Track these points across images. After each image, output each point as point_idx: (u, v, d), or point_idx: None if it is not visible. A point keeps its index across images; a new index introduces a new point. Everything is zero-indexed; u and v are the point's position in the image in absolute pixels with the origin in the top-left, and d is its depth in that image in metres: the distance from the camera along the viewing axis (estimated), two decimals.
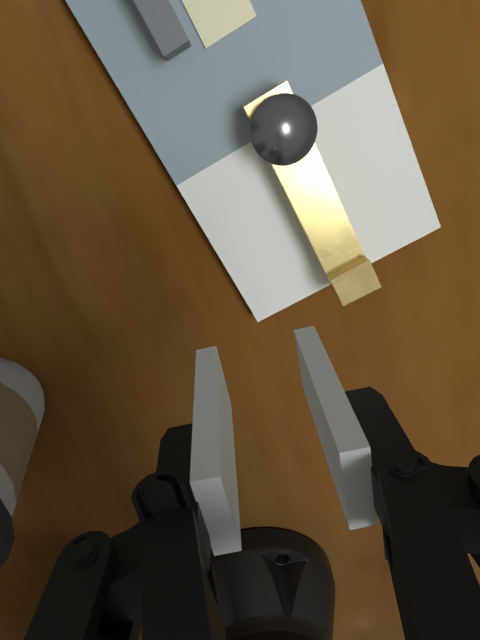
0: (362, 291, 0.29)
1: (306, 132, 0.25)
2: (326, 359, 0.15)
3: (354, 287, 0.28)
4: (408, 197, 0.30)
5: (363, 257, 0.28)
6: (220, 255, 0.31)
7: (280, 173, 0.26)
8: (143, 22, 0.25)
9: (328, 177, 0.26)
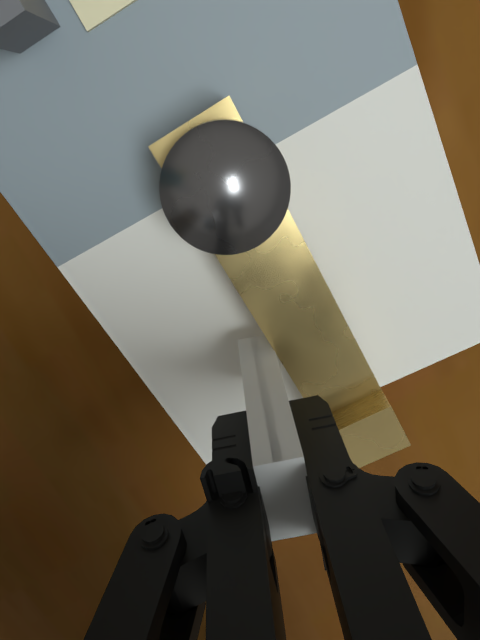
0: (378, 452, 0.17)
1: (269, 194, 0.13)
2: (276, 367, 0.15)
3: (364, 446, 0.16)
4: (450, 288, 0.18)
5: (379, 395, 0.16)
6: (140, 372, 0.19)
7: (227, 263, 0.14)
8: None
9: (315, 268, 0.14)
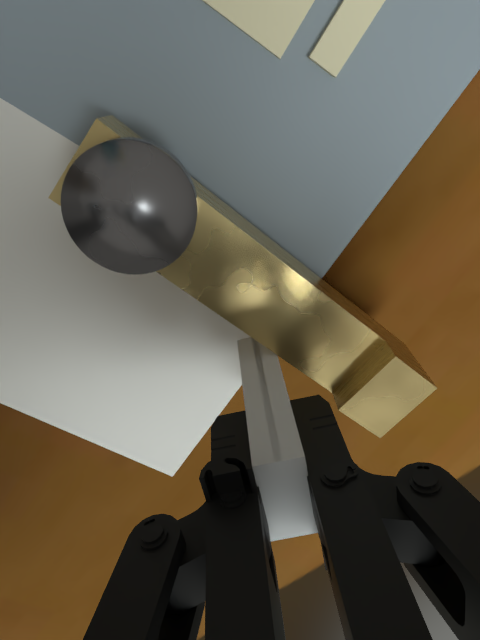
0: (405, 406, 0.15)
1: (171, 197, 0.12)
2: (277, 367, 0.15)
3: (387, 405, 0.15)
4: (179, 420, 0.20)
5: (384, 347, 0.15)
6: None
7: (171, 275, 0.14)
8: None
9: (259, 247, 0.14)
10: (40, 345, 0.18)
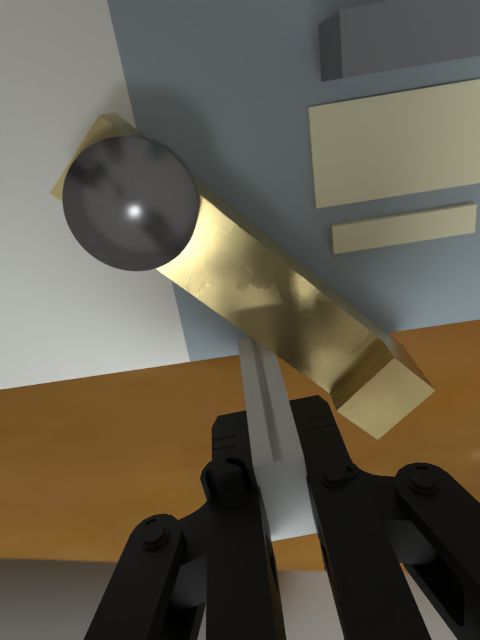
0: (403, 408, 0.15)
1: (173, 194, 0.12)
2: (277, 367, 0.15)
3: (385, 406, 0.15)
4: None
5: (383, 349, 0.15)
6: None
7: (171, 272, 0.14)
8: None
9: (259, 246, 0.14)
10: None
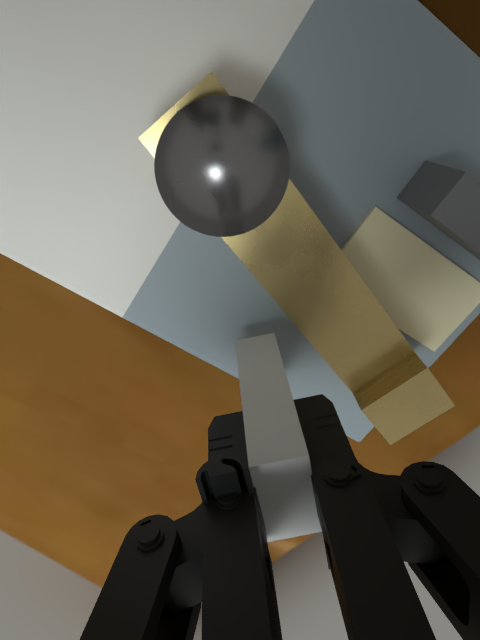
0: (421, 418, 0.16)
1: (268, 166, 0.12)
2: (281, 366, 0.15)
3: (406, 413, 0.16)
4: None
5: (414, 358, 0.16)
6: None
7: (236, 245, 0.14)
8: None
9: (327, 236, 0.14)
10: None
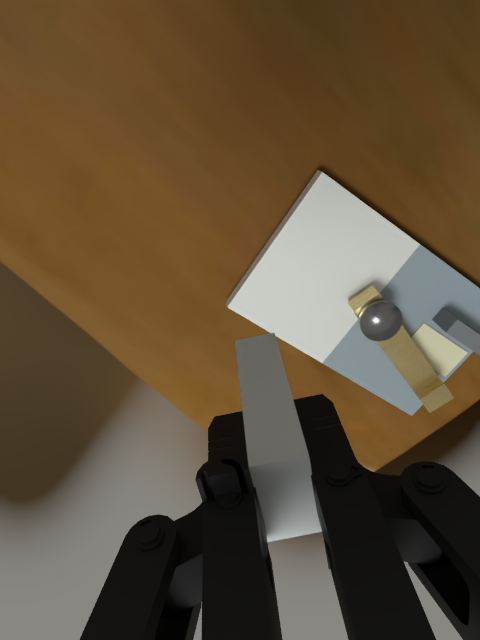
0: (441, 402, 0.43)
1: (395, 321, 0.39)
2: (281, 366, 0.15)
3: (436, 400, 0.43)
4: (262, 312, 0.42)
5: (439, 380, 0.43)
6: (373, 212, 0.39)
7: (379, 342, 0.41)
8: (460, 316, 0.43)
9: (410, 338, 0.41)
10: (308, 257, 0.40)
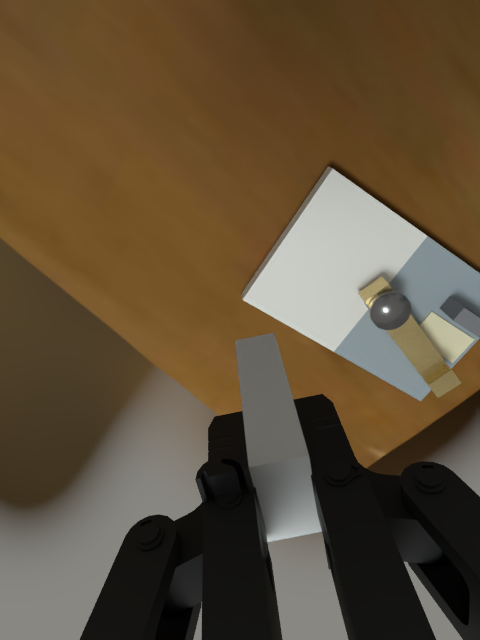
0: (449, 387, 0.45)
1: (404, 310, 0.41)
2: (281, 366, 0.15)
3: (444, 386, 0.44)
4: (276, 304, 0.44)
5: (446, 366, 0.44)
6: (382, 206, 0.40)
7: (389, 330, 0.43)
8: (467, 305, 0.45)
9: (419, 327, 0.43)
10: (320, 250, 0.42)
